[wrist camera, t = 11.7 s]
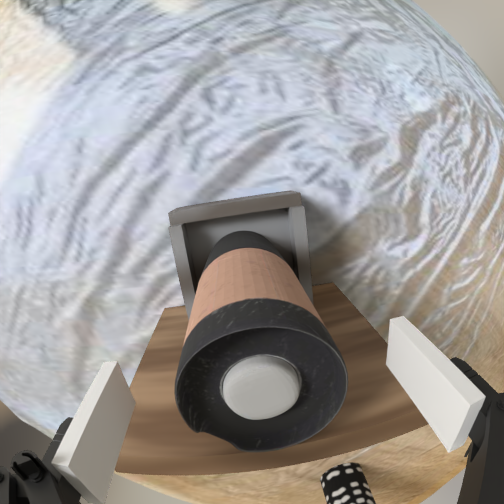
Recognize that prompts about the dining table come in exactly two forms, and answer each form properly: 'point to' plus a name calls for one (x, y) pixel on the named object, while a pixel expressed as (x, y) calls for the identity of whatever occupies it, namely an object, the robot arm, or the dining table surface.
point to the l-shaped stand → (331, 313)
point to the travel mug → (256, 352)
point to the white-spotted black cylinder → (346, 485)
